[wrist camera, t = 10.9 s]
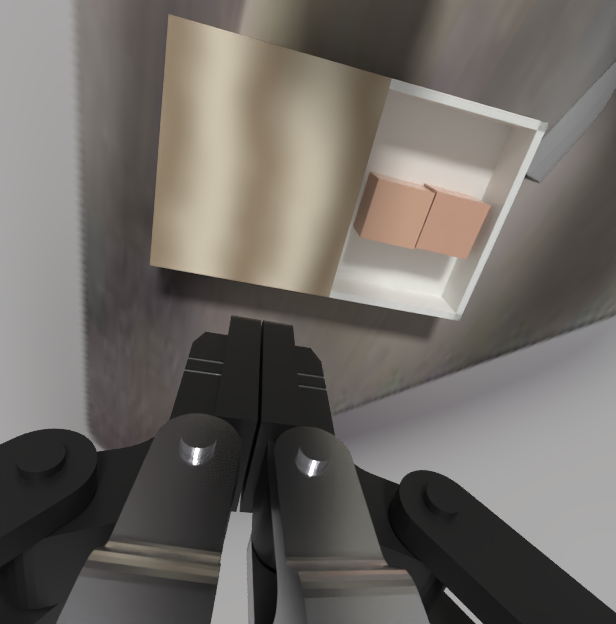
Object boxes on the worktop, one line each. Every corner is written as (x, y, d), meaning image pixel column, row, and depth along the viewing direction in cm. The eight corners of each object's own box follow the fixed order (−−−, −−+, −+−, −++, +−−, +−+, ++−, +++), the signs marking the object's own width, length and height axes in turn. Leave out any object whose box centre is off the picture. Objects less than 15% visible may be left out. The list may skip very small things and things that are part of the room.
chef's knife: (661, 56, 32) (644, 26, 31) (674, 56, 31) (657, 25, 30) (473, 246, 38) (453, 227, 37) (480, 251, 37) (459, 231, 36)
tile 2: (437, 191, 31) (424, 183, 34) (415, 247, 33) (404, 235, 36) (491, 205, 32) (474, 196, 35) (466, 259, 34) (452, 247, 37)
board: (377, 79, 31) (391, 78, 27) (323, 277, 38) (329, 297, 34) (180, 23, 28) (168, 14, 25) (161, 247, 35) (149, 265, 32)
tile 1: (422, 185, 34) (435, 193, 31) (402, 237, 36) (413, 249, 33) (369, 171, 33) (379, 178, 31) (353, 226, 35) (360, 237, 33)
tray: (518, 119, 33) (548, 123, 29) (442, 300, 40) (459, 320, 36) (377, 79, 31) (391, 78, 27) (323, 277, 38) (329, 297, 34)
